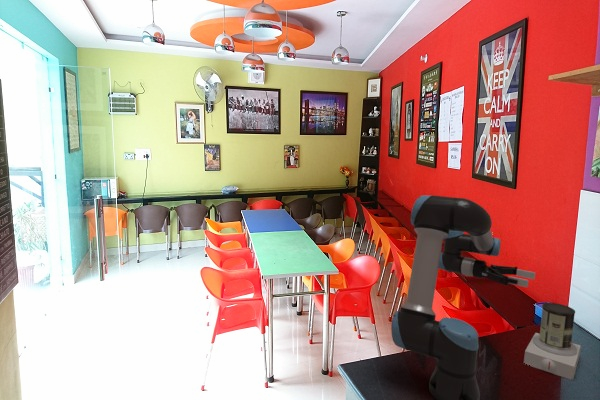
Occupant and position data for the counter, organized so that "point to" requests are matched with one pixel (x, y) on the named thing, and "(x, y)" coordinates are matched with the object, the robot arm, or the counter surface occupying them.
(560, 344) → the coffee can
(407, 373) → the counter surface
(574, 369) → the kitchen scale
